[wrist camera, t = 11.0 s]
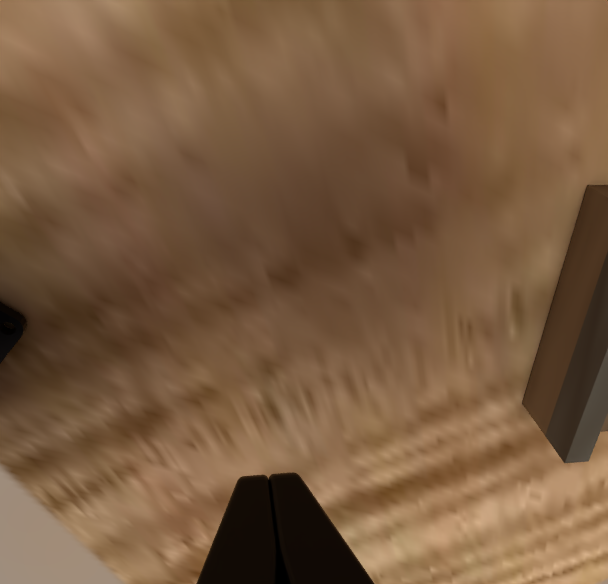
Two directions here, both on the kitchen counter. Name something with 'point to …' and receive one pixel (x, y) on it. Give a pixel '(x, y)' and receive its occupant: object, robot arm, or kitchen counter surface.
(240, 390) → the kitchen counter surface
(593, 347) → the panel
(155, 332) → the kitchen counter surface
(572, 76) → the kitchen counter surface
